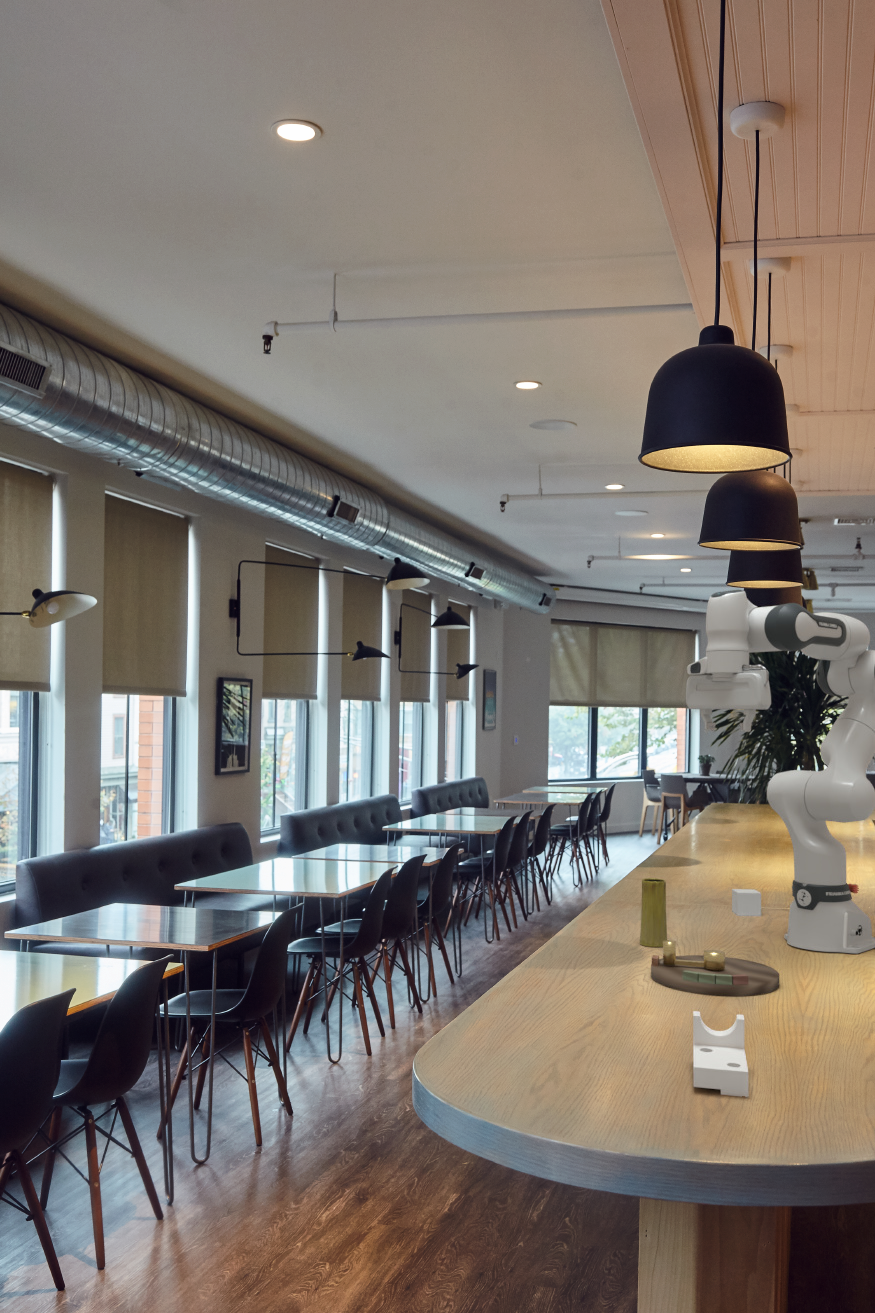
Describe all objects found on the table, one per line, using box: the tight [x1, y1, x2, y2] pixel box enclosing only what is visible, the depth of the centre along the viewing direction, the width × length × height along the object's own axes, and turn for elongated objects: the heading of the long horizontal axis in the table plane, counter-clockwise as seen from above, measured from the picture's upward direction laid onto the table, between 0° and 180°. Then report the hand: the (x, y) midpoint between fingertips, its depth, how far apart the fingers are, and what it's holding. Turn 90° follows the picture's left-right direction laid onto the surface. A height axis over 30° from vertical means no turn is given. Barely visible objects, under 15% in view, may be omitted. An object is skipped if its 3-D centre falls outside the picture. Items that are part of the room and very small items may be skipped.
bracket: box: [692, 1010, 749, 1098], centre depth 147 cm, size 13×7×8 cm, turn 166°
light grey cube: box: [731, 888, 762, 917], centre depth 274 cm, size 6×6×6 cm
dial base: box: [650, 954, 780, 997], centre depth 203 cm, size 24×24×4 cm
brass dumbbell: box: [660, 939, 726, 970], centre depth 204 cm, size 12×4×4 cm, turn 74°
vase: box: [639, 877, 668, 948], centre depth 235 cm, size 6×6×14 cm
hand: (727, 731), depth 221 cm, fingers open, 8 cm apart
